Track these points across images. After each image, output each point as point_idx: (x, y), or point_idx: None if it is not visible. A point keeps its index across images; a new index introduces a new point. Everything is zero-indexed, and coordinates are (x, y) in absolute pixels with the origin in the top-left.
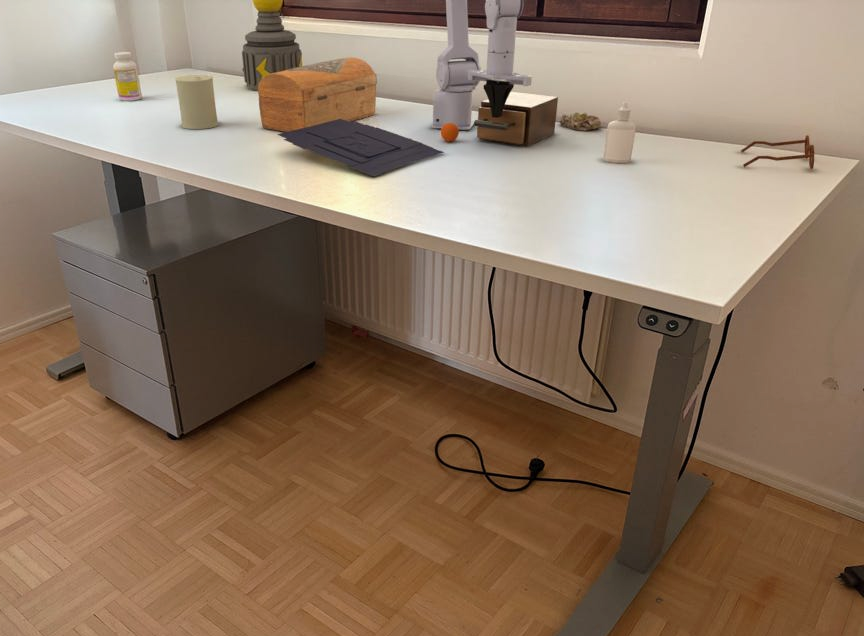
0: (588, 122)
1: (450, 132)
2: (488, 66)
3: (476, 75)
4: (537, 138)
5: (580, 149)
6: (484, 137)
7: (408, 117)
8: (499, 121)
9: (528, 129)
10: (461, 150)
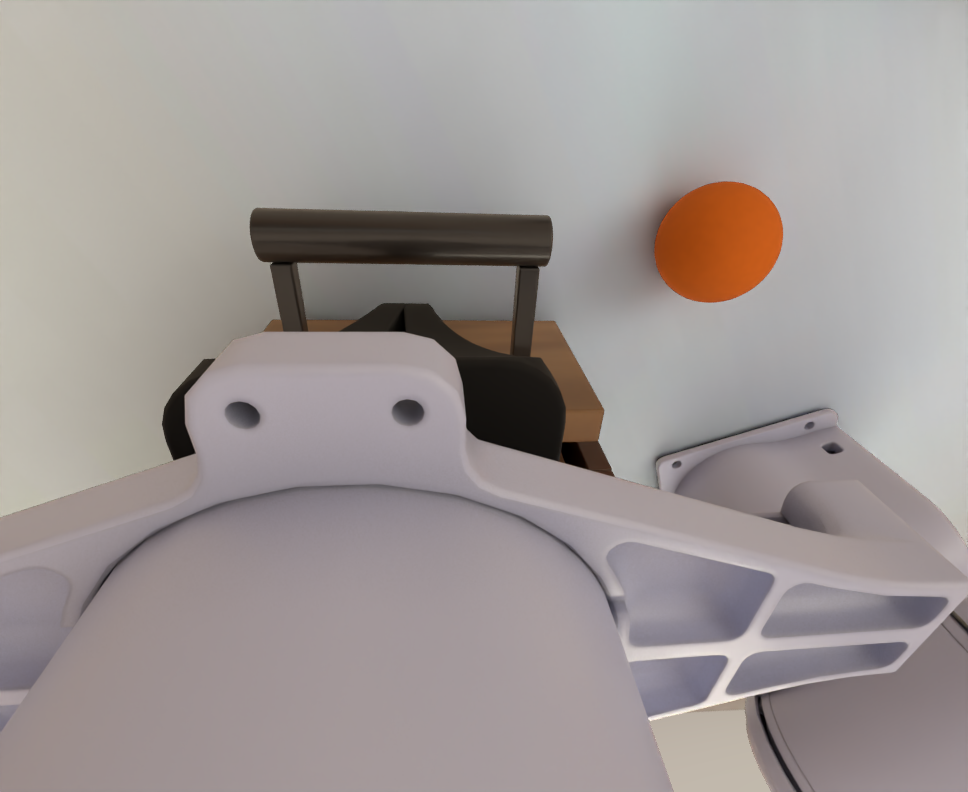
0: None
1: (703, 195)
2: (552, 708)
3: (774, 524)
4: None
5: (47, 443)
6: (508, 321)
7: (954, 506)
8: None
9: None
10: (547, 54)
